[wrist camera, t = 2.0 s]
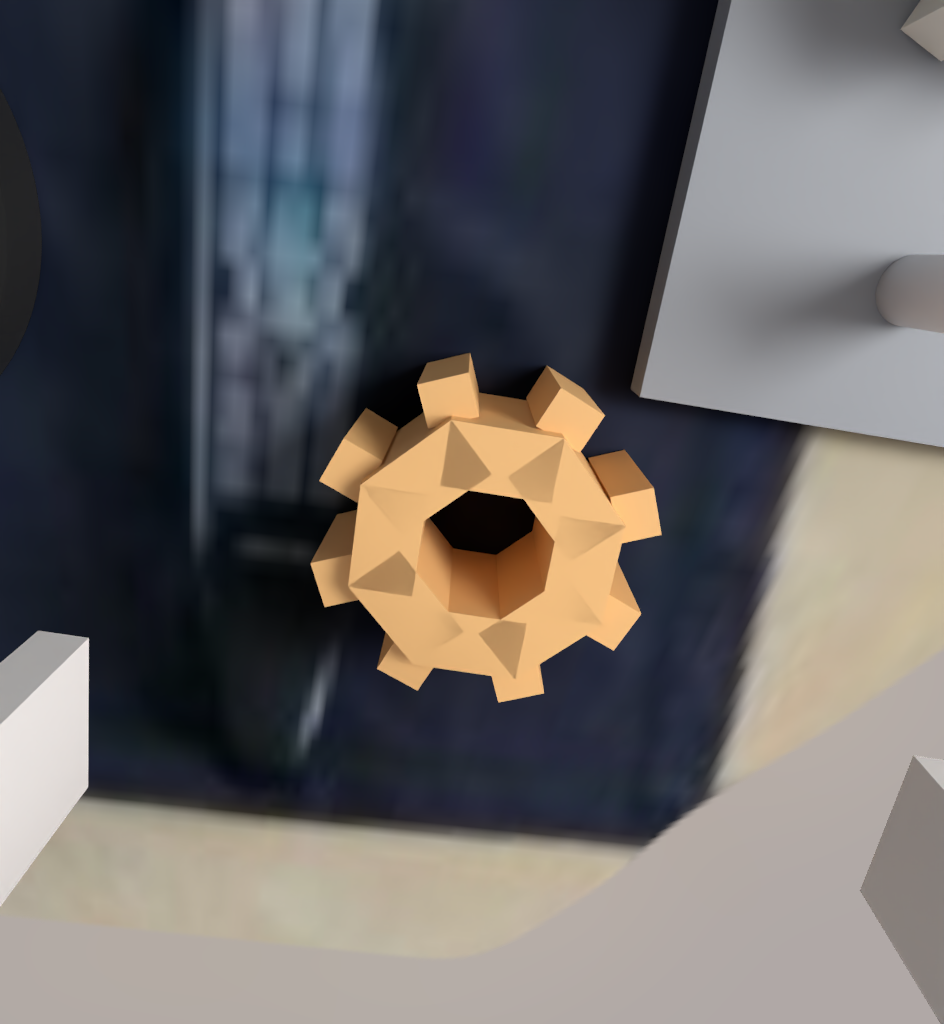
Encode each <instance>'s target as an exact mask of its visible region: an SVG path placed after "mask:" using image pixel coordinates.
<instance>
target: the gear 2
mask: <svg viewBox="0 0 944 1024" xmlns="http://www.w3.org/2000/svg"><path fill="white" fill-rule="evenodd" d="M900 30H902V31H903V32H904V33H905V34H907V35H908V36H909V37H911V38H912V39H913V40H914V41H916V42H917V43H918V44H919V45H921V46H922V47H923V48H924V49H926V50H927V51H928V52H930V53H931V54H932V55H933V56H935V57H936V58H937V59H938V60H940V61H943V60H944V0H920V2H919V3H918V5H917V6H916V7H915V9H914V10H913V12H912V13H911V15H910V16H909V18H908V19H907V20H906V22H905V23H904V25H903V26H902V28H901V29H900Z"/></svg>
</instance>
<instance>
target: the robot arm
mask: <svg viewBox="0 0 944 1024" xmlns="http://www.w3.org/2000/svg"><path fill="white" fill-rule="evenodd" d="M41 249H42V236H41V218H40V210H39V201H38V196H37V190H36V185H35V180H34V176H33V172H32V168H31V164H30V160H29V157H28V154H27V151H26V147H25V144H24V141H23V138H22V136H21V133H20V131H19V128H18V126H17V123H16V120H15V118H14V116H13V114H12V111H11V109H10V107H9V105H8V103H7V101H6V99H5V96H4V95H3V93H2V91H1V89H0V375H1V374H2V372H3V371H4V370H5V368H6V367H7V365H8V364H9V362H10V361H11V359H12V357H13V355H14V354H15V352H16V350H17V348H18V347H19V344H20V342H21V340H22V338H23V336H24V333H25V331H26V328H27V326H28V323H29V320H30V317H31V314H32V311H33V307H34V303H35V299H36V295H37V289H38V284H39V277H40V267H41ZM88 706H89V638H86V637H79V636H72V635H65V634H58V633H51V632H44V631H37V632H36V633H35V634H34V635H33V636H31V637H30V638H29V639H28V640H27V641H26V642H24V643H23V644H22V645H21V646H20V647H19V648H17V649H16V650H15V651H14V652H13V653H11V654H10V655H9V656H8V657H7V658H6V659H4V660H3V661H2V662H1V663H0V906H1V905H2V904H3V902H4V901H5V899H6V898H7V897H8V895H9V894H10V893H11V891H12V890H13V889H14V887H15V886H16V884H17V883H18V882H19V880H20V879H21V878H22V876H23V875H24V874H25V872H26V871H27V869H28V868H29V867H30V865H31V864H32V863H33V861H34V860H35V859H36V857H37V856H38V855H39V853H40V852H41V850H42V849H43V848H44V846H45V845H46V844H47V842H48V841H49V840H50V838H51V837H52V835H53V834H54V833H55V831H56V830H57V829H58V827H59V826H60V825H61V823H62V822H63V820H64V819H65V818H66V816H67V815H68V814H69V812H70V811H71V810H72V808H73V807H74V806H75V804H76V803H77V801H78V800H79V799H80V797H81V796H82V795H83V793H84V792H85V791H86V789H87V788H88ZM860 891H861V893H862V895H863V896H864V898H865V899H866V901H867V903H868V904H869V906H870V907H871V909H872V911H873V913H874V914H875V916H876V918H877V919H878V921H879V923H880V924H881V926H882V928H883V929H884V930H885V933H886V934H887V936H888V937H889V939H890V941H891V942H892V944H893V946H894V947H895V949H896V951H897V952H898V954H899V956H900V957H901V959H902V960H903V962H904V964H905V966H906V967H907V969H908V970H909V972H910V974H911V975H912V977H913V979H914V980H915V982H916V984H917V985H918V987H919V989H920V990H921V992H922V994H923V995H924V997H925V999H926V1000H927V1002H928V1004H929V1005H930V1007H931V1008H932V1010H933V1012H934V1014H935V1015H936V1017H937V1018H938V1020H939V1022H940V1023H941V1024H944V760H942V759H935V758H928V757H921V756H913V758H912V760H911V763H910V766H909V768H908V771H907V773H906V776H905V778H904V781H903V784H902V786H901V788H900V791H899V793H898V796H897V798H896V801H895V804H894V806H893V809H892V811H891V814H890V817H889V819H888V821H887V824H886V826H885V829H884V832H883V834H882V837H881V839H880V842H879V844H878V847H877V849H876V852H875V854H874V857H873V859H872V862H871V865H870V867H869V870H868V872H867V875H866V877H865V880H864V882H863V885H862V887H861V890H860Z"/></svg>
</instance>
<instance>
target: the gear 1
mask: <svg viewBox="0 0 944 1024" xmlns="http://www.w3.org/2000/svg"><path fill="white" fill-rule="evenodd" d="M417 387H418V391H419V395H420V399H421V403H422V407H423V411H424V412H423V413H422V414H420V415H419V416H418V417H416V418H415V419H414V420H412V421H411V422H409V423H408V424H407V425H405V426H404V427H402V428H401V429H400V430H398V431H397V429H398V427H397V426H395V425H394V424H392V423H390V422H389V421H387V420H385V419H384V418H382V417H380V416H379V415H377V414H375V413H374V412H372V411H370V410H369V409H367V408H366V409H365V410H364V411H363V413H362V414H361V415H360V417H359V418H358V419H357V421H356V422H355V424H354V425H353V426H352V428H351V429H350V430H349V432H348V433H347V434H346V436H345V437H344V439H343V440H342V442H341V444H340V446H339V447H338V449H337V451H336V452H335V454H334V456H333V458H332V459H331V461H330V463H329V465H328V466H327V468H326V470H325V471H324V473H323V475H322V477H321V478H320V480H319V481H320V482H322V483H324V484H326V485H327V486H329V487H331V488H332V489H334V490H336V491H338V492H339V493H341V494H343V495H345V496H346V497H348V498H350V499H352V500H353V501H355V502H357V503H358V509H357V510H354V511H350V512H345V513H341V514H337V515H336V517H335V519H334V521H333V523H332V524H331V526H330V528H329V530H328V532H327V534H326V535H325V537H324V539H323V541H322V543H321V545H320V546H319V548H318V550H317V552H316V554H315V556H314V557H313V559H312V561H311V563H310V564H311V567H312V570H313V573H314V576H315V579H316V582H317V585H318V589H319V592H320V595H321V598H322V601H323V604H324V607H328V606H332V605H337V604H342V603H346V602H351V601H356V600H360V602H361V603H362V604H363V605H364V606H365V608H366V609H367V610H368V611H369V612H370V614H371V615H372V616H373V617H374V618H375V620H376V621H377V622H378V623H379V624H380V626H381V627H382V628H383V629H384V630H385V632H386V633H385V637H384V641H383V645H382V649H381V654H380V658H379V662H378V666H377V669H378V670H380V671H382V672H384V673H386V674H388V675H389V676H391V677H393V678H395V679H397V680H399V681H401V682H402V683H404V684H406V685H408V686H410V687H412V688H414V689H415V690H417V691H418V689H419V688H420V686H421V685H422V683H423V682H424V680H425V679H426V677H427V676H428V675H429V673H430V672H431V670H432V669H433V667H434V668H441V669H448V670H455V671H461V672H468V673H475V674H482V675H488V676H492V679H493V683H494V687H495V691H496V695H497V699H498V702H503V701H508V700H513V699H518V698H523V697H528V696H533V695H538V694H543V693H544V689H543V683H542V676H541V670H540V664H541V663H542V662H544V661H545V660H547V659H549V658H550V657H552V656H553V655H555V654H557V653H558V652H560V651H561V650H563V649H565V648H566V647H568V646H569V645H571V644H573V643H574V642H576V641H577V640H579V639H581V638H582V637H584V636H585V635H587V636H589V637H591V638H593V639H594V640H596V641H598V642H599V643H601V644H603V645H605V646H606V647H608V648H610V649H612V650H613V651H614V649H615V648H616V647H617V645H618V644H619V643H620V641H621V640H622V639H623V637H624V636H625V635H626V633H627V632H628V631H629V630H630V628H631V627H632V626H633V624H634V623H635V622H636V620H637V619H638V618H639V616H640V615H641V612H640V610H639V607H638V605H637V603H636V601H635V599H634V597H633V594H632V592H631V590H630V588H629V586H628V584H627V581H626V579H625V577H624V575H623V573H622V571H621V568H620V566H619V564H618V562H617V561H618V557H619V552H620V548H621V544H622V543H625V542H630V541H635V540H639V539H644V538H649V537H653V536H658V535H662V534H661V528H660V522H659V516H658V510H657V505H656V499H655V493H654V488H653V486H652V485H651V484H650V482H649V481H648V480H647V478H646V477H645V476H644V475H643V473H642V472H641V471H640V469H639V468H638V467H637V465H636V464H635V463H634V461H633V460H632V459H631V458H630V456H629V455H628V454H627V452H626V451H625V450H622V451H617V452H613V453H608V454H604V455H599V456H595V457H590V458H589V463H590V464H589V463H588V461H587V460H586V458H585V457H584V456H583V454H582V453H581V450H582V449H583V447H584V446H585V444H586V443H587V441H588V440H589V438H590V437H591V435H592V434H593V432H594V431H595V430H596V428H597V427H598V425H599V424H600V422H601V421H602V419H603V418H604V416H605V415H604V414H603V412H602V411H601V410H600V409H599V407H598V406H597V405H596V404H595V403H594V401H593V400H592V399H591V398H590V396H589V395H588V394H587V393H586V391H585V390H584V389H583V388H581V387H580V386H578V385H577V384H575V383H573V382H572V381H570V380H569V379H567V378H566V377H564V376H562V375H561V374H559V373H558V372H556V371H555V370H553V369H552V368H550V367H548V366H546V368H545V369H544V371H543V372H542V374H541V375H540V377H539V378H538V380H537V382H536V383H535V385H534V386H533V388H532V389H531V391H530V392H529V394H528V395H527V397H526V399H527V400H521V399H515V398H509V397H503V396H497V395H491V394H484V393H479V389H478V384H477V380H476V376H475V371H474V367H473V363H472V359H471V354H470V353H467V354H463V355H459V356H454V357H450V358H446V359H442V360H438V361H433V362H429V363H427V364H426V366H425V368H424V371H423V373H422V375H421V377H420V379H419V381H418V383H417ZM396 431H397V432H396ZM468 490H469V491H475V492H482V493H488V494H494V495H500V496H507V497H513V498H519V499H524V500H525V502H526V503H527V504H528V506H529V507H530V509H531V510H532V511H533V513H534V514H535V519H534V524H533V529H532V532H530V533H529V534H527V535H526V536H524V537H523V538H521V539H520V540H518V541H516V542H515V543H513V544H512V545H510V546H509V547H507V548H506V549H504V550H503V551H501V552H500V553H498V554H497V555H493V554H486V553H480V552H473V551H467V550H461V549H454V548H452V546H451V545H450V544H449V542H448V541H447V540H446V539H445V537H444V536H443V535H442V533H441V532H440V531H439V529H438V528H437V527H436V526H435V524H434V523H433V522H432V520H431V519H430V518H429V517H431V516H432V515H434V514H435V513H436V512H438V511H439V510H441V509H442V508H444V507H445V506H447V505H448V504H450V503H451V502H452V501H454V500H455V499H457V498H458V497H460V496H461V495H463V494H464V493H465V492H467V491H468Z"/></svg>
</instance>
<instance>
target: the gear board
mask: <svg viewBox="0 0 944 1024" xmlns="http://www.w3.org/2000/svg"><path fill="white" fill-rule="evenodd" d="M919 2H920V0H719V1H718V6H717V10H716V14H715V19H714V23H713V28H712V32H711V36H710V41H709V45H708V50H707V54H706V58H705V63H704V67H703V72H702V76H701V80H700V85H699V89H698V94H697V98H696V102H695V107H694V111H693V116H692V120H691V124H690V129H689V133H688V138H687V142H686V146H685V151H684V155H683V160H682V164H681V168H680V173H679V177H678V182H677V186H676V190H675V195H674V199H673V204H672V208H671V212H670V217H669V221H668V226H667V230H666V234H665V239H664V243H663V248H662V252H661V256H660V261H659V265H658V270H657V274H656V278H655V283H654V287H653V292H652V296H651V300H650V305H649V309H648V314H647V318H646V322H645V327H644V331H643V336H642V340H641V344H640V349H639V353H638V358H637V362H636V366H635V371H634V375H633V380H632V384H631V388H630V389H631V390H632V391H633V392H635V393H636V394H637V395H638V396H639V397H643V398H649V399H655V400H661V401H667V402H673V403H679V404H685V405H691V406H697V407H703V408H710V409H716V410H722V411H728V412H734V413H740V414H746V415H752V416H758V417H764V418H770V419H776V420H782V421H788V422H794V423H800V424H806V425H812V426H818V427H824V428H830V429H836V430H843V431H849V432H855V433H861V434H867V435H873V436H879V437H885V438H891V439H897V440H903V441H909V442H915V443H921V444H927V445H933V446H939V447H944V60H943V61H940V60H938V59H937V58H936V57H935V56H933V55H932V54H931V53H930V52H928V51H927V50H926V49H924V48H923V47H922V46H921V45H919V44H918V43H917V42H916V41H914V40H913V39H912V38H911V37H909V36H908V35H907V34H905V33H904V32H903V31H902V30H900V29H901V28H902V26H903V25H904V23H905V22H906V20H907V19H908V18H909V16H910V15H911V13H912V12H913V10H914V9H915V7H916V6H917V5H918V3H919Z"/></svg>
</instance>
